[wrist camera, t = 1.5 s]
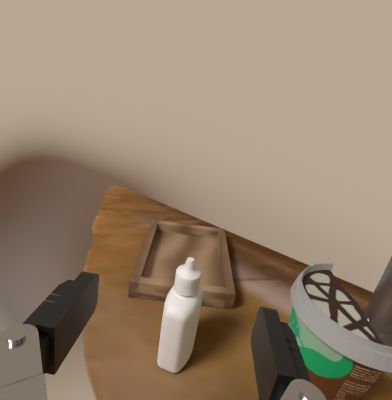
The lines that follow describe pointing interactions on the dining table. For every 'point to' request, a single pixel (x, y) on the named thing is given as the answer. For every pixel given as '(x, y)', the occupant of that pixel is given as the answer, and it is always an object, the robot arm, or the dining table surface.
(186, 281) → the eye dropper bottle
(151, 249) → the walnut tray
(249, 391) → the dining table surface
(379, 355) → the food container
